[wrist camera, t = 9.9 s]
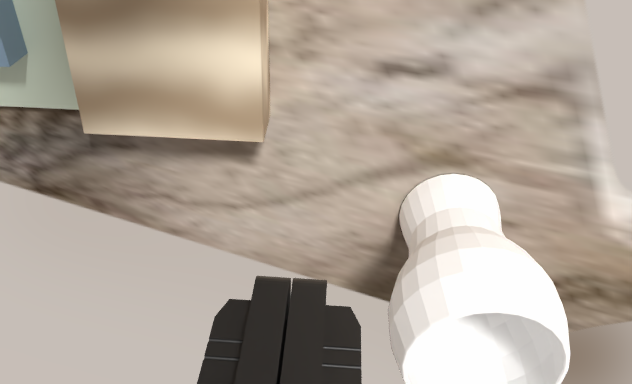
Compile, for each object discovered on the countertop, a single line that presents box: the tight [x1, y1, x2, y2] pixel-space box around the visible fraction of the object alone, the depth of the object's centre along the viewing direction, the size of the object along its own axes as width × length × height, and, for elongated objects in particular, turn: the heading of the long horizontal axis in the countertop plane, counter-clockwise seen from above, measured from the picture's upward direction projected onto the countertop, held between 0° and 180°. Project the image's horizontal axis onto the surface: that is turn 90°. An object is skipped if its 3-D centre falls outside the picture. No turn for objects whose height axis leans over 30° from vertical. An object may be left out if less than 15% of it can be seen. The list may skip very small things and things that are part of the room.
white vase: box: [388, 174, 570, 384], centre depth 40 cm, size 11×11×15 cm
